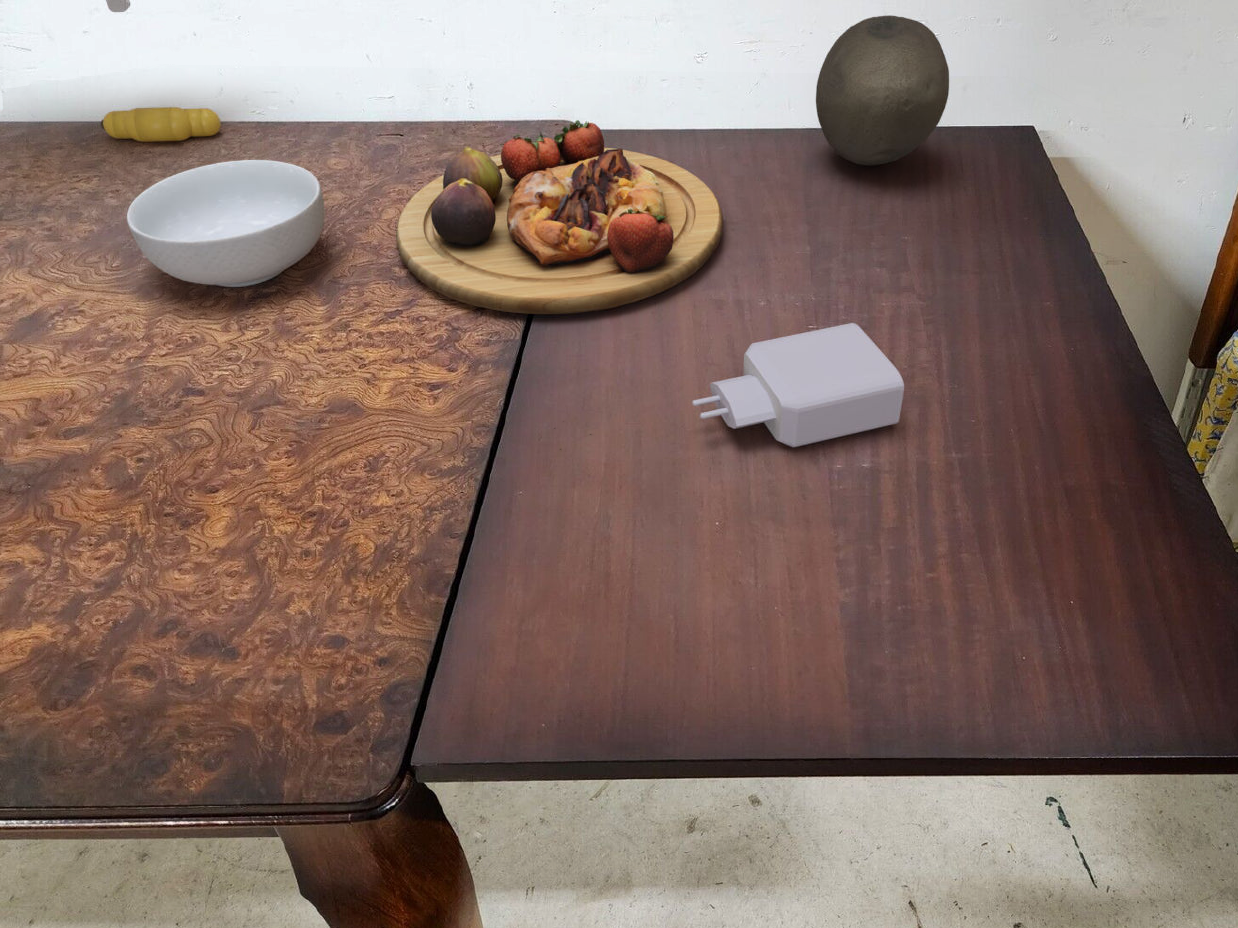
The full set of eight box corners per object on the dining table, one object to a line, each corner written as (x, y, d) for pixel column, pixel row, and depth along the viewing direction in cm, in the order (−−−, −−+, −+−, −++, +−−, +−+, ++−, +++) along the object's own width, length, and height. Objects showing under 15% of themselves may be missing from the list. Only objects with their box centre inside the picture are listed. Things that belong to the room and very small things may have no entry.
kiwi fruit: (785, 171, 118) (795, 27, 108) (845, 127, 127) (859, -11, 116) (905, 204, 112) (927, 55, 102) (958, 155, 121) (983, 13, 111)
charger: (676, 402, 87) (845, 365, 91) (717, 471, 81) (898, 429, 84) (676, 352, 84) (851, 316, 87) (719, 420, 77) (906, 379, 81)
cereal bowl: (317, 211, 111) (301, 144, 107) (354, 287, 100) (337, 216, 95) (142, 246, 106) (117, 177, 101) (161, 330, 95) (133, 257, 90)
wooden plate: (781, 273, 102) (787, 190, 96) (453, 356, 92) (438, 269, 86) (643, 144, 123) (641, 70, 118) (364, 200, 113) (347, 122, 108)
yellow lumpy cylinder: (96, 147, 123) (85, 114, 121) (110, 135, 126) (99, 103, 124) (217, 143, 123) (208, 111, 121) (227, 131, 127) (218, 100, 125)
